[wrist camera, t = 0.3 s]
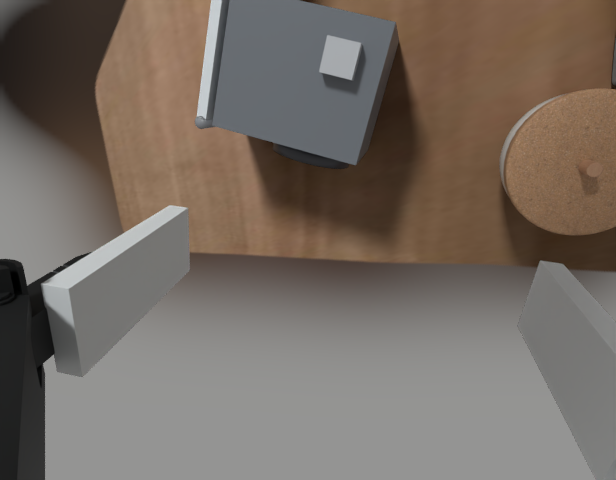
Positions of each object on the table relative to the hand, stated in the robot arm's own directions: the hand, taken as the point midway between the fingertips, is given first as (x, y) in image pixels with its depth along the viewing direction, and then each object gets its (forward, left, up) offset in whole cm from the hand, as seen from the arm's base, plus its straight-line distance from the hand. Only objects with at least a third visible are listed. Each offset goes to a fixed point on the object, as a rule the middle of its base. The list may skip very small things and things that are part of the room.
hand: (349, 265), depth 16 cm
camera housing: (-6, -8, -27) cm, 29 cm away
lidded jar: (-5, +14, -28) cm, 31 cm away
